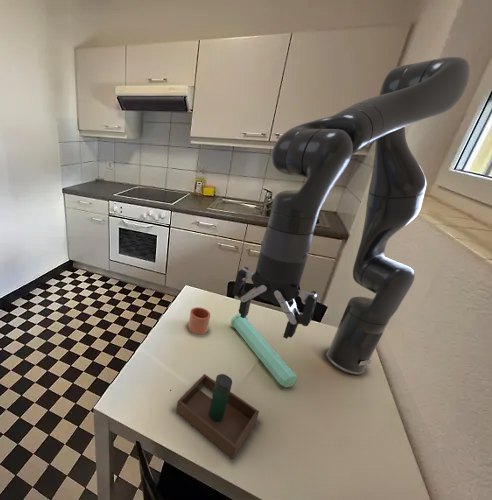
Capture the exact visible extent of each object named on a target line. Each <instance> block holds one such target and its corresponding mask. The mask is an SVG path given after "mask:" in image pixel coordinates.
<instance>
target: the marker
mask: <svg viewBox="0 0 492 500" xmlns="http://www.w3.org/2000/svg"><path fill="white" fill-rule="evenodd" d="M214 381H215V387H214V392H213V391H212V395H211V399H212V401H211V405H210V410H209V416H210V418H211V419H212V420H213V421H215V422H220V421H222V419H223V416H224V412H225V408H226V404H227V401H228V397H229V393H230V392H231V389H232V385H233V380H232V378H231V377H230V376H229V375H227V374H224V373H220V374H218V375H216V377H215V380H214Z"/></svg>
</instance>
